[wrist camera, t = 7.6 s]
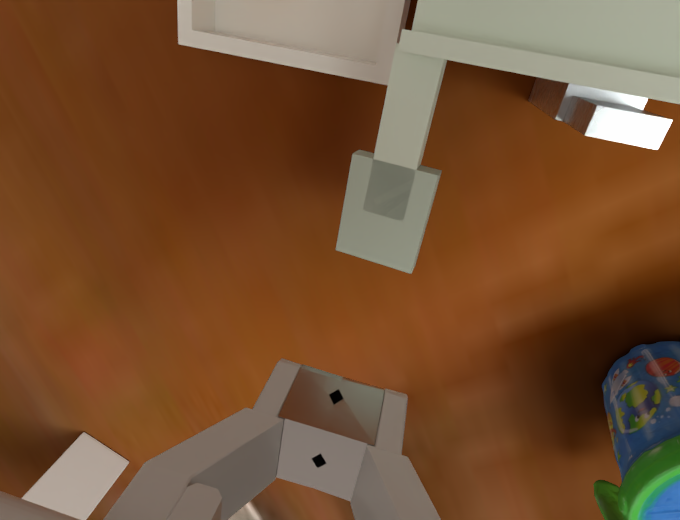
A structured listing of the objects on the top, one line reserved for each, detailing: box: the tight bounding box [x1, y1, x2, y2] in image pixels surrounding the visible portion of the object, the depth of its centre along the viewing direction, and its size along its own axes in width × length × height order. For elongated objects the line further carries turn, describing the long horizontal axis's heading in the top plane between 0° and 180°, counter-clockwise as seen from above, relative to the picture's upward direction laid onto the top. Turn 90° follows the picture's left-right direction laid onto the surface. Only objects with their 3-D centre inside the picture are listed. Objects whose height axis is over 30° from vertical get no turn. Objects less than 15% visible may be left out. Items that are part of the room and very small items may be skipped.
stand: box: [528, 77, 673, 150], centre depth 17 cm, size 3×9×10 cm, turn 171°
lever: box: [336, 0, 680, 274], centre depth 15 cm, size 20×16×4 cm
